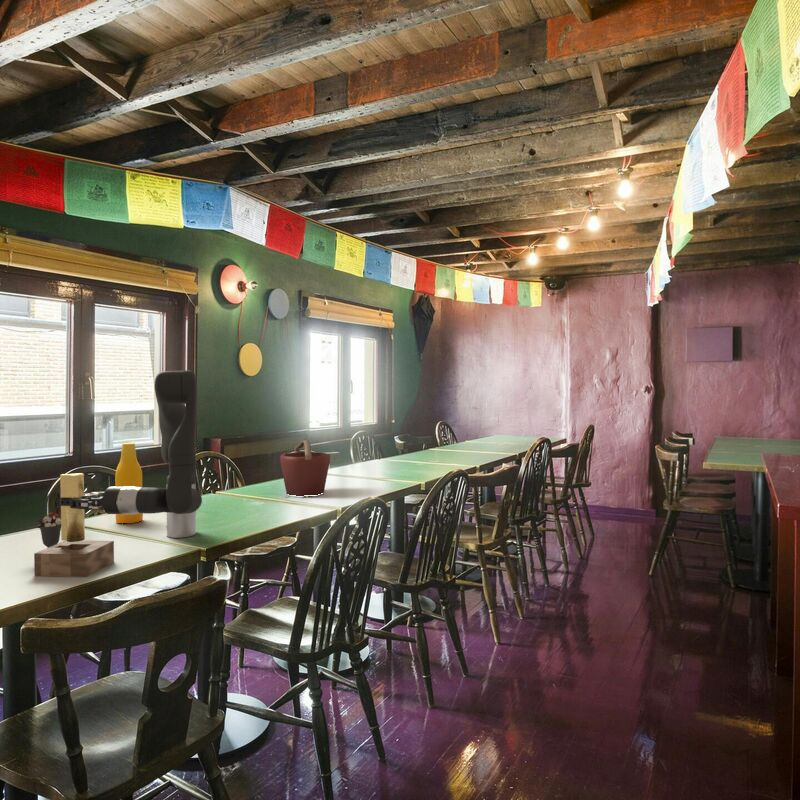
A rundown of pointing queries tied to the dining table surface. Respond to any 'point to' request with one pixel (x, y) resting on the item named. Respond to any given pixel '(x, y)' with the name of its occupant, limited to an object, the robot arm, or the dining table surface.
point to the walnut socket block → (73, 558)
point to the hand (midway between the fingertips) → (65, 499)
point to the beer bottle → (128, 478)
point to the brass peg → (71, 517)
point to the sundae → (50, 529)
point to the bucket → (304, 470)
